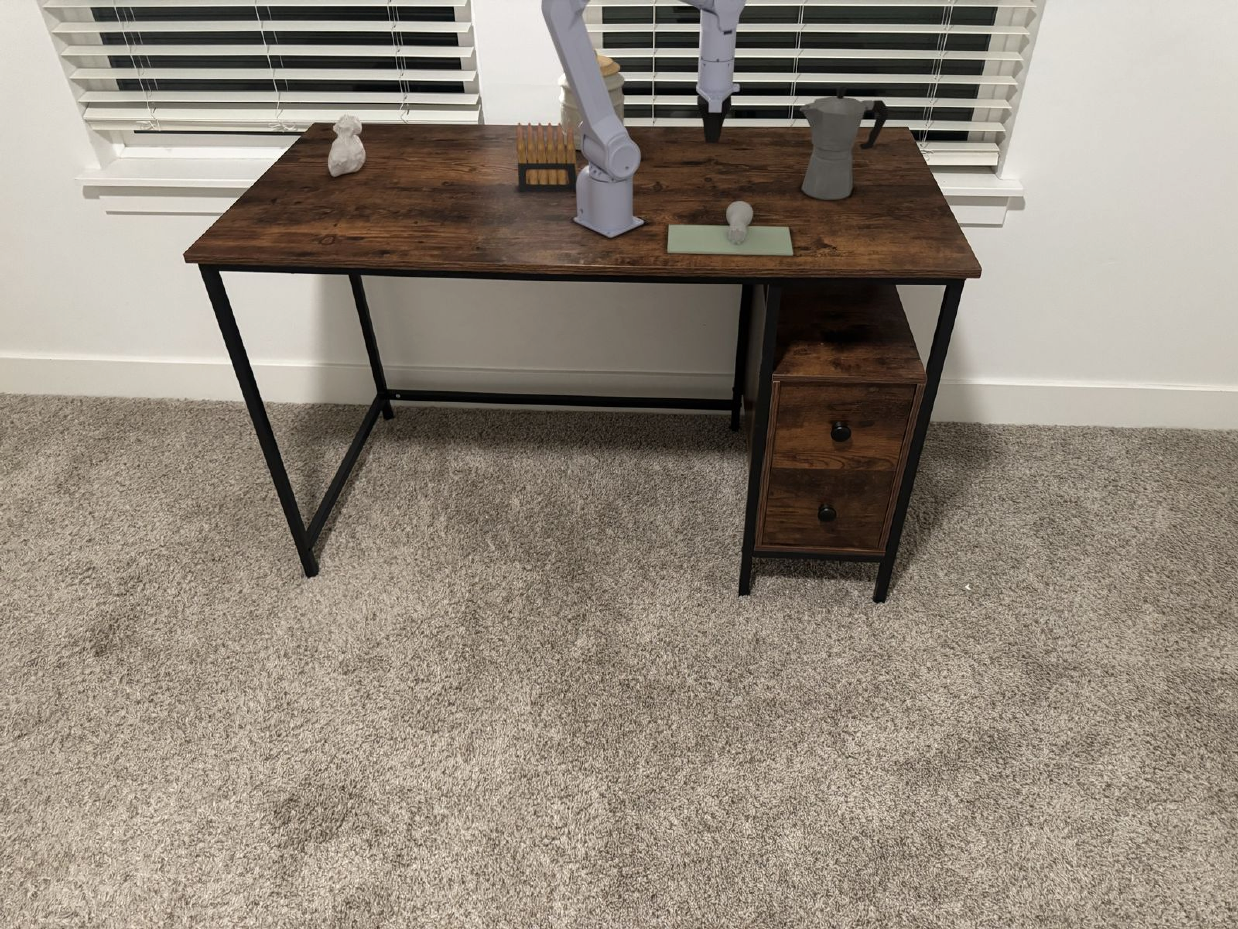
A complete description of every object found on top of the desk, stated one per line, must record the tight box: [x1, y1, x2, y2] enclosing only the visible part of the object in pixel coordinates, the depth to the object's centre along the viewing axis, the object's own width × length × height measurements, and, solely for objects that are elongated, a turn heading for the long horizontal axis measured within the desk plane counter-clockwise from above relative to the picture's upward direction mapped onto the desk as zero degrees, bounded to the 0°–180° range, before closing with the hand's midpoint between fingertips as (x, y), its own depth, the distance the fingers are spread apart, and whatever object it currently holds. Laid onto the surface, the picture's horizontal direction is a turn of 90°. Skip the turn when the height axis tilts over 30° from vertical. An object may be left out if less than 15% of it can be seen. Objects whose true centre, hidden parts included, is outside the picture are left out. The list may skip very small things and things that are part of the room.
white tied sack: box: [327, 113, 366, 178], centre depth 167 cm, size 12×8×11 cm
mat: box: [666, 224, 794, 256], centre depth 145 cm, size 20×10×1 cm, turn 86°
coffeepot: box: [799, 85, 890, 201], centre depth 155 cm, size 15×9×18 cm, turn 92°
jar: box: [557, 48, 626, 151], centre depth 175 cm, size 13×13×18 cm
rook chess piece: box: [725, 200, 754, 244], centre depth 145 cm, size 4×4×8 cm
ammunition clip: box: [516, 122, 578, 192], centre depth 159 cm, size 11×2×12 cm, turn 88°
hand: (711, 141), depth 151 cm, fingers closed
